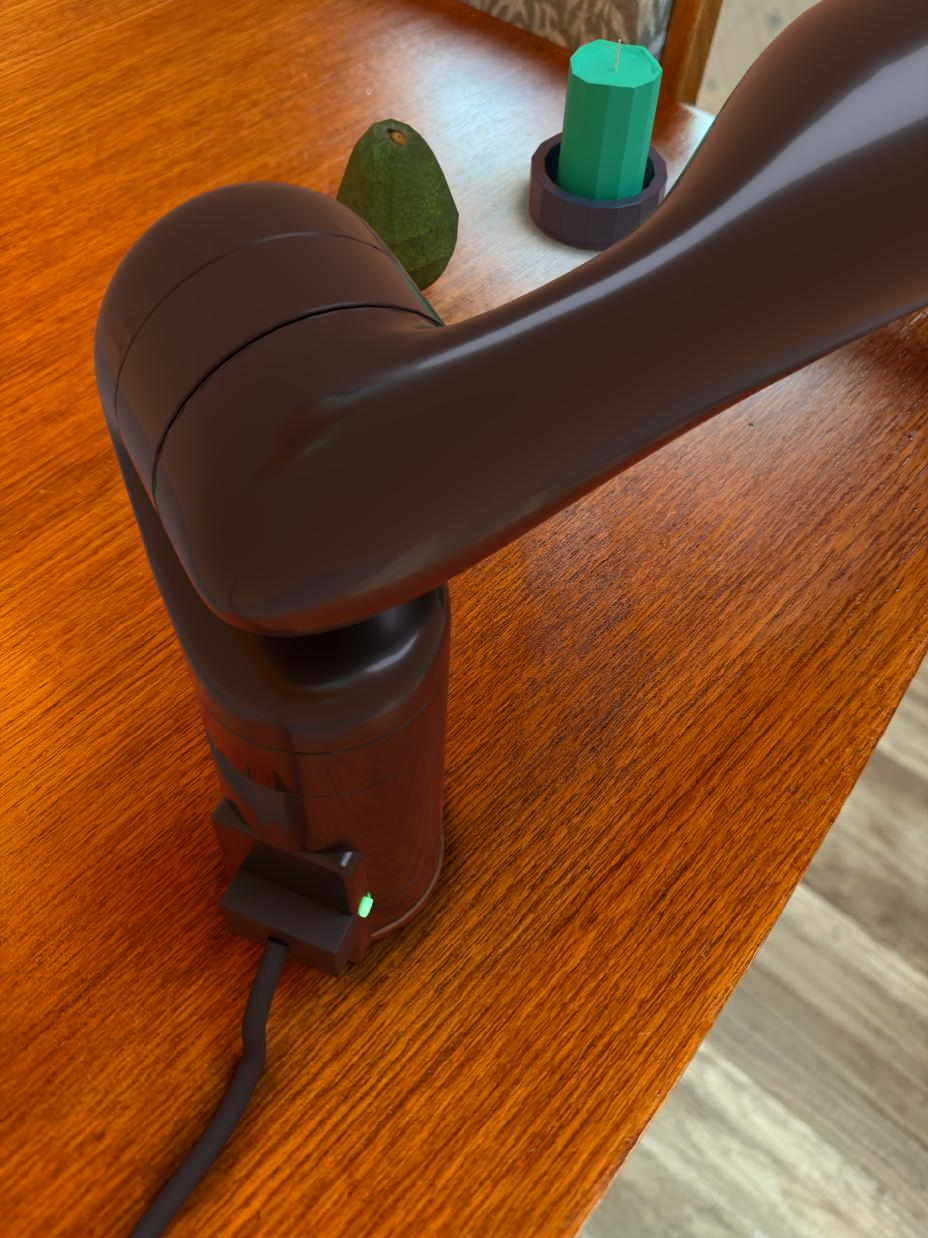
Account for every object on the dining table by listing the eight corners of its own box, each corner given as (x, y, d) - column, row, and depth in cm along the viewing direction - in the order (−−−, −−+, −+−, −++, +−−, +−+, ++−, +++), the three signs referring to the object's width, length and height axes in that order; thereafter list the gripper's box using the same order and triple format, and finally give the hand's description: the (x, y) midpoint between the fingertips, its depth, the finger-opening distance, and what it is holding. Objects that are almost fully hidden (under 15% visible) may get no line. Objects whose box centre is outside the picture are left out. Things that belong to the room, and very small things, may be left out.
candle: (632, 236, 84) (661, 71, 74) (548, 222, 84) (565, 57, 74) (642, 186, 87) (671, 22, 77) (561, 173, 88) (579, 9, 78)
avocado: (333, 326, 78) (321, 159, 68) (339, 250, 82) (329, 84, 73) (456, 329, 78) (462, 163, 68) (456, 253, 83) (461, 87, 73)
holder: (634, 265, 82) (642, 221, 80) (508, 228, 84) (511, 184, 82) (675, 191, 88) (684, 148, 85) (555, 158, 90) (559, 115, 87)
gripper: (1038, 112, 72) (789, 28, 77) (958, 232, 65) (689, 131, 69) (989, 219, 78) (761, 135, 83) (912, 340, 71) (667, 240, 75)
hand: (728, 133), depth 76 cm, fingers open, 8 cm apart
